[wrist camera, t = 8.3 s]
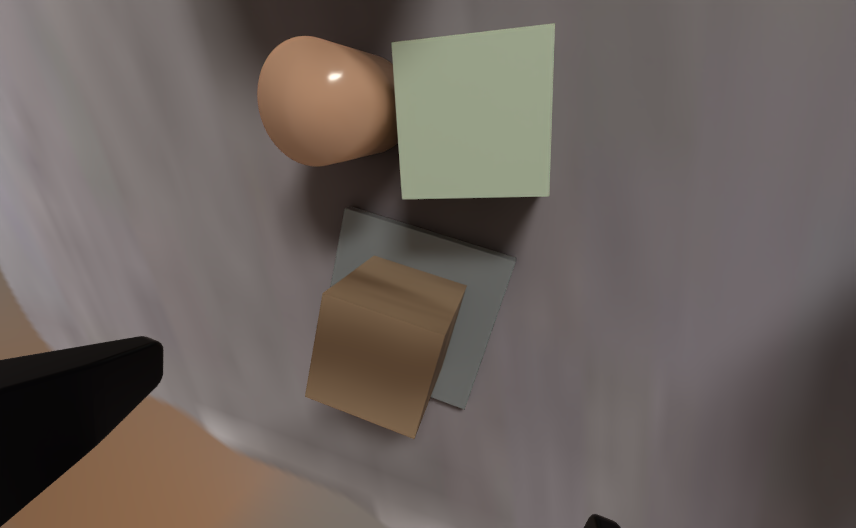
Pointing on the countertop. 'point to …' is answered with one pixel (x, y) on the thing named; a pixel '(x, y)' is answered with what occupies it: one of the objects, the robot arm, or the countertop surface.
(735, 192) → the countertop surface
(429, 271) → the slate coaster
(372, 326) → the walnut block
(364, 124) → the dome-topped tan cylinder
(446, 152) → the sage block
